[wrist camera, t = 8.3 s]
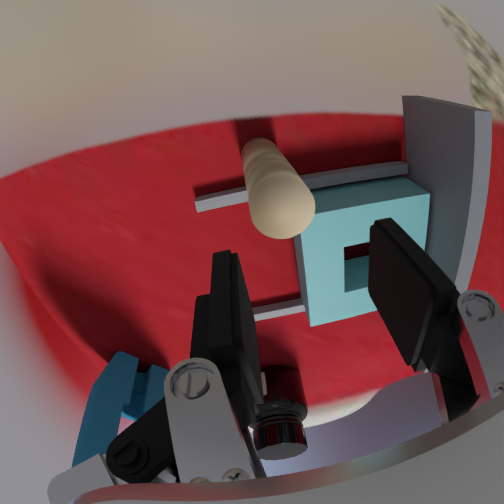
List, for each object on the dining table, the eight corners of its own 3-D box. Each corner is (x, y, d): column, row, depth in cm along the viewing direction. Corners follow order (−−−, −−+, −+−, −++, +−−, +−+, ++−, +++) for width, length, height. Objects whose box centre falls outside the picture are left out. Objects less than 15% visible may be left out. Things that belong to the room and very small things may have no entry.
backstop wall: (418, 95, 22) (491, 112, 13) (405, 313, 36) (437, 368, 28) (176, 128, 23) (145, 153, 14) (244, 352, 37) (250, 418, 29)
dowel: (275, 134, 24) (311, 173, 13) (281, 169, 25) (318, 232, 15) (237, 141, 24) (244, 185, 14) (245, 176, 25) (256, 244, 15)
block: (99, 361, 37) (68, 483, 20) (106, 344, 35) (70, 478, 18) (171, 390, 41) (162, 509, 24) (184, 375, 39) (176, 506, 22)
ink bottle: (243, 361, 38) (249, 440, 28) (306, 360, 39) (324, 434, 29) (239, 397, 43) (244, 464, 33) (293, 395, 44) (305, 459, 34)
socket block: (402, 175, 26) (430, 193, 22) (397, 272, 32) (416, 298, 28) (286, 194, 26) (298, 217, 22) (300, 295, 33) (310, 326, 28)
